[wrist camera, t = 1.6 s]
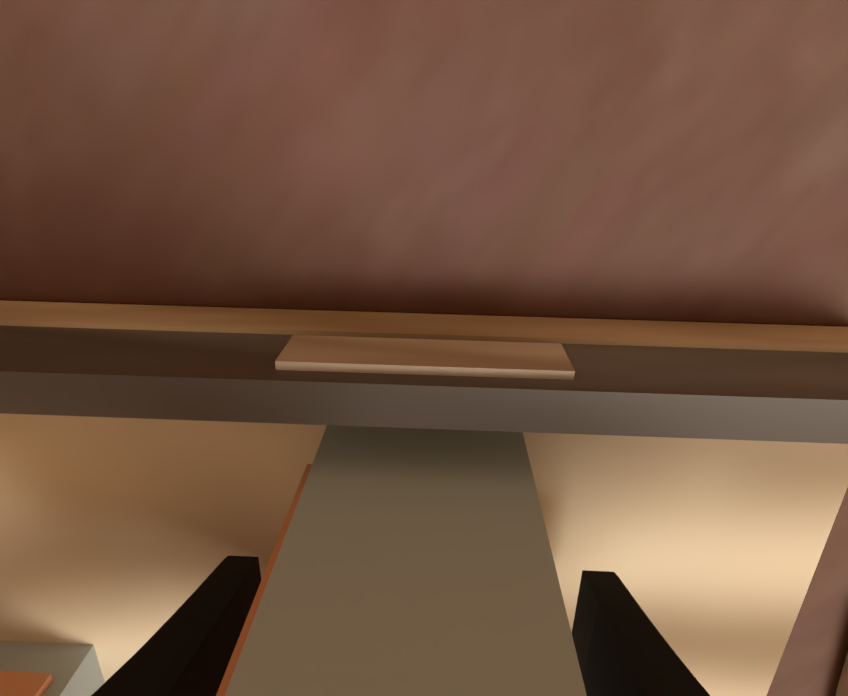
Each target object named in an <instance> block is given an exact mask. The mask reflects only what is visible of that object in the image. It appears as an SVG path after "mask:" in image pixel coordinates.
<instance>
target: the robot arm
mask: <svg viewBox="0 0 848 696" xmlns="http://www.w3.org/2000/svg"><path fill="white" fill-rule="evenodd" d="M260 583H261V573H260V565H259V557H252V556H227V557H226V558H225V559H224V560H223V561H222V562H221V563H220V564H219V565H218V566H217V567H216V568H215V569H214V570H213V572H212V573H211V574H210V575H209V576H208V577H207V578H206V579H205V580H204V582H203V583H202V584H201V585H200V586H199V587H198V588H197V589H196V590H195V591H194V593H193V594H192V595H191V596H190V597H189V598H188V599H187V600H186V601H185V602H184V603H183V604H182V606H181V607H180V608H179V609H178V610H177V611H176V612H175V613H174V614H173V615H172V616H171V617H170V618H169V619H168V620H167V621H166V622H165V623H164V624H163V625H162V627H161V628H160V629H159V630H158V631H157V632H156V633H155V634H154V635H153V636H152V637H151V638H150V639H149V640H148V641H147V642H146V643H145V644H144V645H143V646H142V647H141V648H140V649H139V650H138V651H137V652H136V653H135V654H134V655H133V656H132V657H131V658H130V659H129V660H128V661H127V662H126V663H125V664H124V665H123V666H122V667H121V668H120V669H119V670H117V671H116V672H115V673H114V674H113V675H112V676H111V677H110V678H109V679H108V680H107V681H106V682H105V683H104V684H103V685H102V686H101V687H100V688H99V689H98V690H97V691H95V692H94V693H93V694H92V695H91V696H216V694H217V692H218V689H219V687H220V684H221V682H222V679H223V676H224V674H225V671H226V669H227V666H228V664H229V661H230V659H231V656H232V654H233V651H234V649H235V646H236V643H237V641H238V638H239V636H240V633H241V631H242V628H243V626H244V623H245V621H246V618H247V616H248V613H249V610H250V608H251V605H252V603H253V600H254V598H255V595H256V593H257V590H258V588H259V585H260ZM572 637H573V641H574V645H575V650H576V654H577V658H578V662H579V666H580V670H581V674H582V678H583V682H584V686H585V691H586V695H587V696H710V695H709V693H708V692H707V691H706V690H705V689H704V687H703V686H702V685H701V684H700V683H699V681H698V680H697V679H696V678H695V677H694V675H693V674H692V673H691V672H690V670H689V669H688V668H687V667H686V665H685V664H684V663H683V662H682V660H681V659H680V658H679V657H678V655H677V654H676V653H675V652H674V650H673V649H672V648H671V647H670V645H669V644H668V643H667V641H666V640H665V639H664V638H663V636H662V635H661V634H660V632H659V631H658V630H657V628H656V627H655V626H654V624H653V623H652V622H651V620H650V619H649V618H648V616H647V615H646V614H645V612H644V611H643V610H642V608H641V607H640V606H639V604H638V603H637V601H636V600H635V599H634V597H633V596H632V595H631V593H630V592H629V590H628V589H627V588H626V586H625V585H624V584H623V582H622V581H621V579H620V578H619V577H618V576H617V574H616V573H615V572H610V571H586V570H582V576H581V582H580V587H579V593H578V599H577V605H576V610H575V616H574V622H573V628H572Z"/></svg>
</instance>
